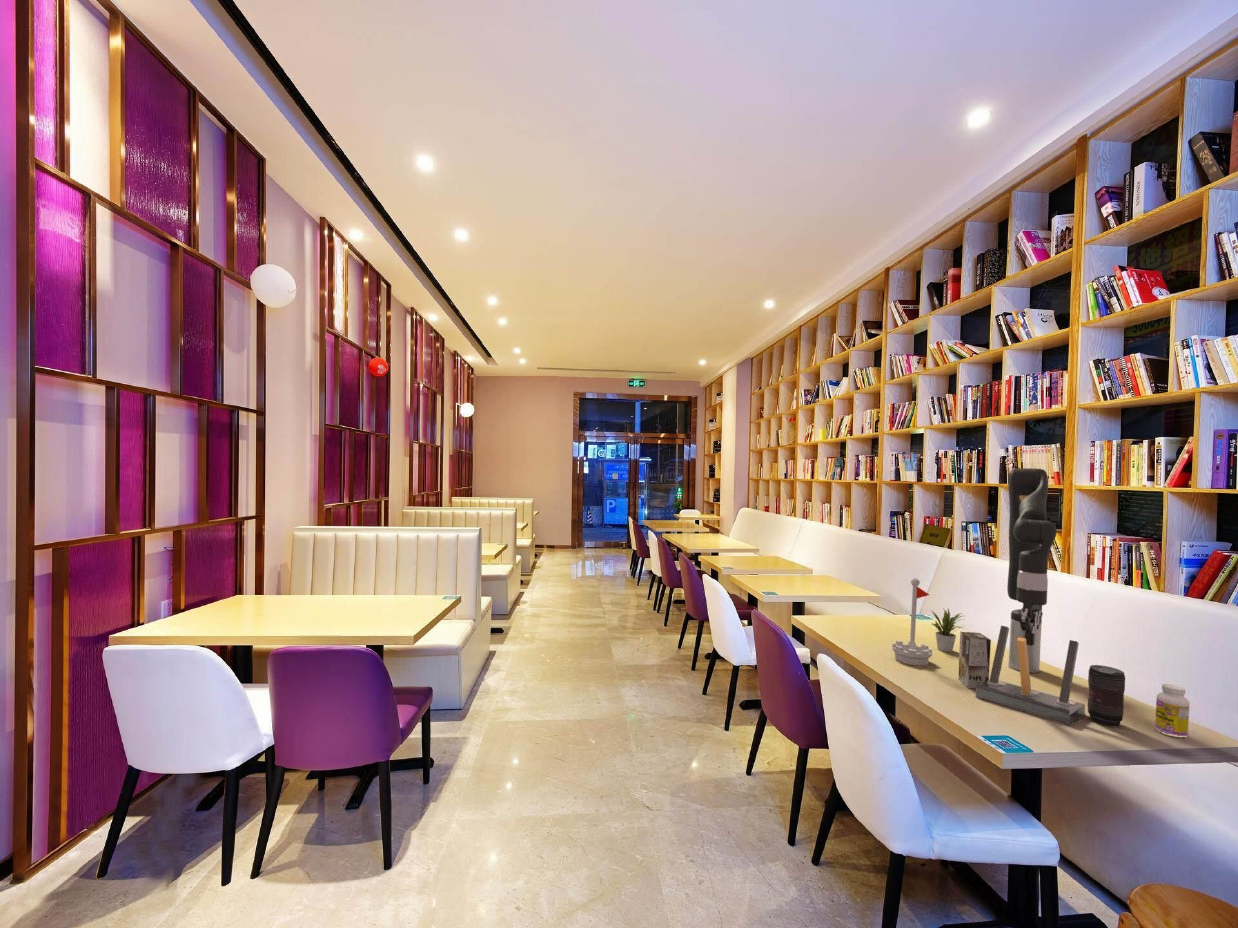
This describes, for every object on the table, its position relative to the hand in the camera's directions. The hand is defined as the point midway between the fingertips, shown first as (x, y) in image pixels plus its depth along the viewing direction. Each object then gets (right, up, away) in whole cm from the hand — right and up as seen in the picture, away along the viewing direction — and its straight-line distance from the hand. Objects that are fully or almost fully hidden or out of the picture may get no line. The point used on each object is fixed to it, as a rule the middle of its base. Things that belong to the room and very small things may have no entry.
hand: (1029, 644), depth 180 cm
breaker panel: (0, -18, +1) cm, 18 cm away
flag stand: (-15, -18, +41) cm, 47 cm away
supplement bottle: (+28, -20, -15) cm, 38 cm away
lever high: (+4, -15, -8) cm, 17 cm away
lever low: (-7, -14, +6) cm, 17 cm away
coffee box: (-7, -18, +17) cm, 26 cm away
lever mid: (-1, -14, -1) cm, 14 cm away
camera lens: (+15, -19, -10) cm, 26 cm away
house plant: (+6, -19, +55) cm, 59 cm away
